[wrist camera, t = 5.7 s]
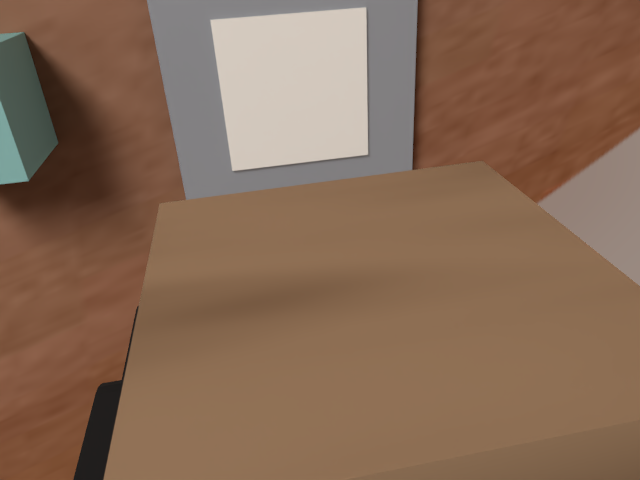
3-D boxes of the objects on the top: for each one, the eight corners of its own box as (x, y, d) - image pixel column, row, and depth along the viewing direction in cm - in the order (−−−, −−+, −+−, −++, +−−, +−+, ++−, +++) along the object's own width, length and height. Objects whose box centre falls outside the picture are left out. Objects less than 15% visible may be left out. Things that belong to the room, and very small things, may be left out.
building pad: (405, 200, 30) (412, 209, 29) (194, 228, 29) (193, 239, 28) (412, -85, 23) (422, -87, 22) (136, -69, 22) (132, -70, 21)
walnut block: (460, 389, 13) (624, 683, 8) (215, 435, 12) (217, 793, 7) (482, 160, 10) (773, 392, 5) (159, 202, 9) (94, 530, 4)
